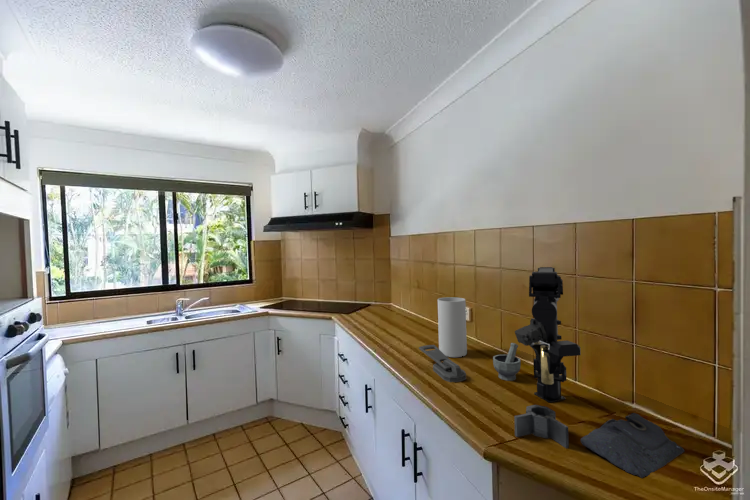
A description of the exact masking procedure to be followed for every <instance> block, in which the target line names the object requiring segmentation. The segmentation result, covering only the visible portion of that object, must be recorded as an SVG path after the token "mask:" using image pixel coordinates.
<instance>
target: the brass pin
mask: <svg viewBox="0 0 750 500" xmlns="http://www.w3.org/2000/svg"><path fill="white" fill-rule="evenodd" d="M540 347H541V382H542V383H544V384H548V385H552V384H554V380H553V374H549V370H548V363H547V355H546V354H545V353H544V352H543V351H542V350H548V347H549V346H547V345H542V346H540Z"/></svg>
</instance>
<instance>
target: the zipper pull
mask: <svg viewBox="0 0 750 500" xmlns="http://www.w3.org/2000/svg"><path fill="white" fill-rule="evenodd" d="M418 350H420V351H421V352H422V354H423V353H424V354H425V355H426V356H427V357H429V358H430V359H431V360H432V361H434V364H433V365H432V371H433V372H434V373H436V374H437V375H438V377H440V378H441V379H442V380H443V381H446V382H448V383H460V382H464V381H466V380H467V373H466V371H465V370H464V369H462V368H461V366H460V365H459V364H458V363H455V362H454V361H452V359H450V357H447V356H445V355H444V354H443V353H442V352H441V351H440V350H439V347H437V345H435V344H428V345H422V346H419V347H418Z"/></svg>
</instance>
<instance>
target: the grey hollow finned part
mask: <svg viewBox="0 0 750 500" xmlns="http://www.w3.org/2000/svg"><path fill="white" fill-rule="evenodd" d="M525 409H526V410H525V413H523V414H518V415H514V417H513V418H514V419H513V420H514V436H515V437H516V438H520V437H523V436H528V435H533V436H535V437H539V438H543V439H552V440H553V441H554V442H556V443H558V444H559V445H561V446H562V447H563V448H565V449H569V448H570V447H569V445H570V443H569V441H570V439H569V426H568V425H566V424H564V423H562V422H561V421H559V420H557V419H556V418H557V416H556V415H557V414H556V411H554V410H553V409H551V408H550V407H548V406H545V405H539V404H532V405H528V406H527V405H526V408H525Z"/></svg>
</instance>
